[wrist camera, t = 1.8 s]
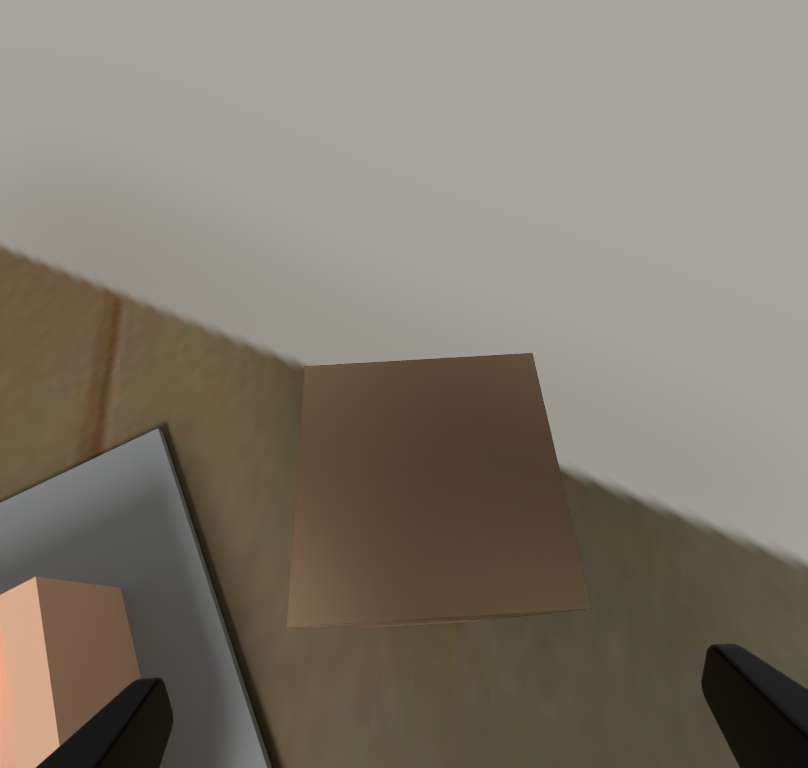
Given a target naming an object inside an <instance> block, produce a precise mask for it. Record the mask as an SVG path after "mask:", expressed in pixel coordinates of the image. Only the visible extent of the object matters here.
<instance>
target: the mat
mask: <svg viewBox="0 0 808 768" xmlns="http://www.w3.org/2000/svg"><path fill="white" fill-rule="evenodd" d="M34 577H43V578H50V579H58V580H65V581H72V582H80V583H87V584H95V585H102V586H110V587H117V588H121V592H122V596H123V601H124V605H125V609H126V614H127V618H128V623H129V627H130V631H131V636H132V640H133V644H134V649H135V653H136V658H137V662H138V666H139V671H140V675H141V678H157V677H158V678H161V679H162V680H164V682H165V685H166V688H167V692H168V696H169V699H170V703H171V707H172V710H173V726H172V731H171V734H170V737H169V740H168V743H167V747H166V750H165V753H164V756H163V759H162V762H161V767H162V768H272V766H271V763H270V760H269V757H268V754H267V751H266V748H265V745H264V742H263V739H262V736H261V733H260V730H259V726H258V723H257V720H256V717H255V714H254V711H253V708H252V705H251V702H250V699H249V696H248V693H247V690H246V687H245V683H244V680H243V677H242V674H241V671H240V668H239V665H238V662H237V659H236V656H235V653H234V650H233V647H232V644H231V640H230V637H229V634H228V631H227V628H226V625H225V622H224V619H223V616H222V613H221V610H220V607H219V604H218V601H217V597H216V594H215V591H214V588H213V585H212V582H211V579H210V576H209V573H208V570H207V567H206V564H205V561H204V558H203V554H202V551H201V548H200V545H199V542H198V539H197V536H196V533H195V530H194V527H193V524H192V521H191V518H190V515H189V511H188V508H187V505H186V502H185V499H184V496H183V493H182V490H181V487H180V484H179V481H178V478H177V475H176V472H175V468H174V465H173V462H172V459H171V456H170V453H169V450H168V447H167V444H166V441H165V438H164V435H163V432H162V431H161V430H160V429H159V428H157V429H155V430H153V431H151V432H149V433H147V434H145V435H142V436H140V437H138V438H136V439H134V440H132V441H130V442H128V443H126V444H123V445H121V446H119V447H117V448H115V449H113V450H111V451H109V452H107V453H104V454H102V455H100V456H98V457H96V458H94V459H92V460H90V461H88V462H85V463H83V464H81V465H79V466H77V467H75V468H73V469H71V470H69V471H66V472H64V473H62V474H60V475H58V476H56V477H54V478H52V479H50V480H47V481H45V482H43V483H41V484H39V485H37V486H35V487H33V488H31V489H28V490H26V491H24V492H22V493H20V494H18V495H16V496H14V497H12V498H9V499H7V500H5V501H3V502H1V503H0V595H1V594H3V593H5V592H7V591H9V590H11V589H13V588H14V587H16V586H18V585H20V584H22V583H24V582H26V581H28V580H30V579H32V578H34Z"/></svg>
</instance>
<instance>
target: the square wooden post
mask: <svg viewBox="0 0 808 768" xmlns="http://www.w3.org/2000/svg"><path fill="white" fill-rule="evenodd" d="M585 609H592V607H591V602H590V598H589V594H588V589H587V585H586V581H585V577H584V572H583V568H582V564H581V560H580V555H579V551H578V547H577V542H576V538H575V534H574V530H573V525H572V521H571V517H570V512H569V508H568V504H567V500H566V495H565V491H564V487H563V483H562V478H561V474H560V470H559V465H558V461H557V457H556V453H555V449H554V444H553V440H552V435H551V431H550V427H549V423H548V419H547V414H546V410H545V406H544V401H543V397H542V393H541V388H540V384H539V380H538V376H537V371H536V367H535V363H534V359H533V354H532V353H527V354H509V355H492V356H476V357H459V358H458V357H457V358H440V359H423V360H407V361H389V362H371V363H355V364H337V365H320V366H305V371H304V386H303V400H302V415H301V429H300V444H299V458H298V473H297V487H296V502H295V516H294V531H293V545H292V560H291V574H290V589H289V603H288V618H287V627H391V626H408V625H425V624H441V623H458V622H473V621H482V620H492V619H501V618H510V617H520V616H529V615H538V614H548V613H557V612H566V611H576V610H585Z"/></svg>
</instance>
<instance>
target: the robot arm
mask: <svg viewBox="0 0 808 768" xmlns="http://www.w3.org/2000/svg"><path fill="white" fill-rule="evenodd" d="M701 683H702V690H703V694H704V697H705V699H706V701H707V703H708V705H709V707H710V709H711V711H712V713H713V715H714V717H715V719H716V721H717V723H718V725H719V727H720V729H721V731H722V733H723V735H724V737H725V739H726V741H727V743H728V745H729V747H730V749H731V751H732V753H733V755H734V757H735V759H736V761H737V763H738V765H739V767H740V768H808V689H806V688H805V687H803V686H802V685H800V684H799V683H797V682H796V681H794V680H792V679H791V678H789V677H788V676H786V675H785V674H783V673H782V672H780V671H778V670H777V669H775V668H774V667H772V666H771V665H769V664H768V663H766V662H764V661H763V660H761V659H760V658H758V657H757V656H755V655H754V654H752V653H750V652H749V651H747V650H746V649H744V648H742V647H741V646H739V645H736V644H716V645H711V646H710V647H709V648H708V649H707V653H706V658H705V664H704V669H703V675H702V681H701ZM172 726H173V710H172V707H171V703H170V699H169V696H168V692H167V688H166V685H165V682H164V680H162V679H161V678H158V677H157V678H141V679H137V680H135V681H133V682H132V683H130V684H129V685H128V686H127V687H126V688H125V689H123V690H122V691H121V692H120V693H119V694H118V695H117V696H116V697H114V698H113V699H112V700H111V701H110V702H109V703H108V704H107V705H105V706H104V707H103V708H102V709H101V710H100V711H99V712H98V713H96V714H95V715H94V716H93V717H92V718H91V719H90V720H89V721H87V722H86V723H85V724H84V725H83V726H82V727H81V728H80V729H78V730H77V731H76V732H75V733H74V734H73V735H72V736H71V737H69V738H68V739H67V740H66V741H65V742H64V743H63V744H62V745H60V746H59V747H58V748H57V749H56V750H55V751H54V752H53V753H51V754H50V755H49V756H48V757H47V758H46V759H45V760H43V761H42V762H41V763H40V764H39V765H38V766H37V767H36V768H160V765H161V762H162V759H163V756H164V753H165V750H166V747H167V743H168V740H169V737H170V734H171V731H172Z"/></svg>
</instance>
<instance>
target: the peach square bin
mask: <svg viewBox="0 0 808 768" xmlns="http://www.w3.org/2000/svg"><path fill="white" fill-rule="evenodd" d="M137 679H141V675H140V671H139V666H138V662H137V658H136V653H135V649H134V644H133V640H132V636H131V631H130V627H129V623H128V618H127V614H126V609H125V605H124V601H123V596H122V592H121V588H117V587H110V586H102V585H95V584H87V583H80V582H72V581H65V580H58V579H50V578H43V577H34V578H32V579H30V580H28V581H26V582H24V583H22V584H20V585H18V586H16V587H14V588H13V589H11V590H9V591H7V592H5V593H3V594H1V595H0V768H36V767H37V766H38V765H39V764H40V763H41V762H42V761H43V760H45V759H46V758H47V757H48V756H49V755H50V754H51V753H53V752H54V751H55V750H56V749H57V748H58V747H59V746H60V745H62V744H63V743H64V742H65V741H66V740H67V739H68V738H69V737H71V736H72V735H73V734H74V733H75V732H76V731H77V730H78V729H80V728H81V727H82V726H83V725H84V724H85V723H86V722H87V721H89V720H90V719H91V718H92V717H93V716H94V715H95V714H96V713H98V712H99V711H100V710H101V709H102V708H103V707H104V706H105V705H107V704H108V703H109V702H110V701H111V700H112V699H113V698H114V697H116V696H117V695H118V694H119V693H120V692H121V691H122V690H123V689H125V688H126V687H127V686H128V685H129V684H130V683H132V682H133V681H135V680H137ZM160 768H162V767H161V765H160Z"/></svg>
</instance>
